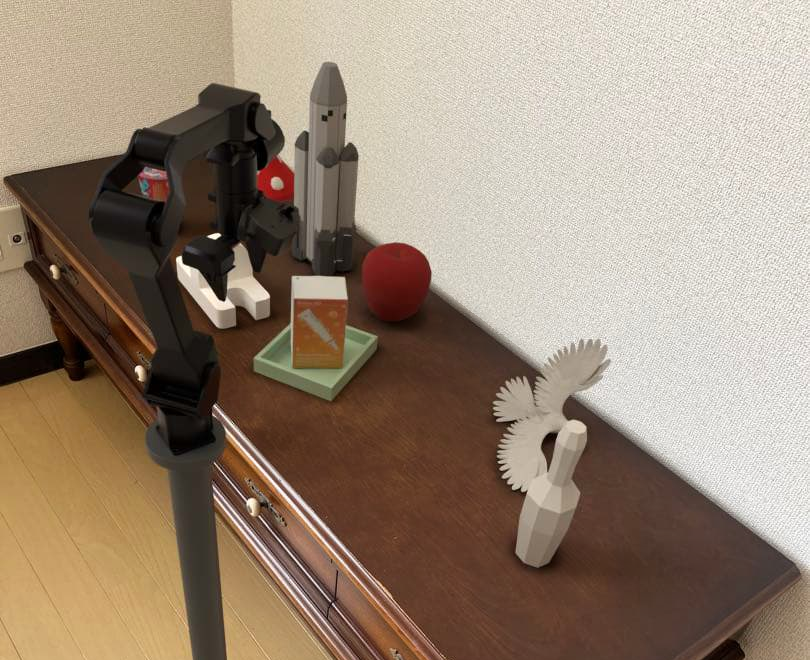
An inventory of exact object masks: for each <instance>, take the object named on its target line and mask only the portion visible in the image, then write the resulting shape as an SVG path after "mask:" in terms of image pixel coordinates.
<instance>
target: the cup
mask: <svg viewBox="0 0 810 660" xmlns="http://www.w3.org/2000/svg"><path fill="white" fill-rule="evenodd" d="M182 176H183V175H182ZM182 176H181V182H183V181H182V178H183V177H182ZM137 178H138V183H139V186H140V190H141V194H142V195H141V196H143V197H147V198H151V199H155V200H160V201H164V202H166V200H167V197H168V194H169V191H170V189H169V185H168V180H167V175H166V172H165V171H160V170H156V169H152V168H148V167H145V168H144V170H143V171H142V172H141V173H140V174H139V175H138V176H137ZM178 231H180V228H179V229H178Z"/></svg>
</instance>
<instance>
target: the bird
mask: <svg viewBox="0 0 810 660" xmlns="http://www.w3.org/2000/svg"><path fill="white" fill-rule="evenodd" d="M601 346H602V347H601ZM569 347H570V348H569V350H568V347H567V346H566V345H564V346H563V351H562V349H560V348H557V350H556V351H557V354H556V353H553V355H552V356H553V359H552V358H551V357H547V361H548V363H549V364H548V363H547V362H543V367H544V368H545V369H542V368H541V369H539V371H540V373H541V374H542V375H543V377H544V378H542V377H540V376H535V379H536V380H537V381H535V382H534V384H535V387H534V388H535V389H534V390H533V391H532V388H531V386H530V383H529V381H528V378H527V377H526V375H523V379H521V378H520V377H519V376H516V377H515V379H516V380H515V379H514V378H510V381H508V380H506V381H505V386H506V387H507V389H508V390H507V389H506V388H505V387H503V386H500V388H499V389H500V391H501V392H497V393H495V395H496V397H497V398H499V399H501V400H494V401H493V402H492V404H493V405H495V406H493V407H492V410H494V411H497V412H494V413H493V416H495V417H499V418H497V419H496V421H495V422H499V423H502V422H510V421H514V423H511V424H510V426H511V427H506V429H507V431H508V432H510V433H511V434H508V433H503V434H502V435H503V437H504V438H502V439H499V442H500V443H503V444H498V445H497V447H498V448H500V449H501V450H497V453H498V454H497V455H496V458H498V459H499V461H497V463H498V464H501V465H502V466H500V467H499V471H501V472H502V471H505V473H503V474H502V476H501V479H508V480H507V481H506V483H507V485H512V487H511V490H512V491H516V490H518V489H520V492H522V493H524V492H527V491H528V489H529V486H530V483H531V481H532V479H534V478H537V477H539V476H541V475H543V474H546V473H548V464H547V463H548V462H547V458H546V457H545V454H544V453H543V451H542V444H543V441H544V439H545V438H546V436H547V435H548V434H558V433H559V432H560V430H561V429H562V428H563V427H564V425H565V424H566V423H567V422H568V421H569V420H568V419H567V418H566V416H565V415H564V413H563V407H564V404H565V402H566V401H567V399H568V398H569V397H570V396H571V395H572V394H574V393H577V392H583V391H586V390H588V389H590V388H593V386H595V385H597V384H598V383H599V382H600V381H601V380H603V378H604V375H603V374H602V373H604V372H605V371H606V370H607V368H608V367H609V366H610V364H611V363H612V359H611V358H607V359H606V360H605V358H606V355H607V352H608V350H609V349H608V345H607V344H604V345H602V342H601V339H600V338H597V339H596V340H595V341H594V343H593V339H592V338H589V339H588V340H587V342H586V344H585V340H584V338H580V339H579V342H578V345H577V349H576V345H575V343H574V342H573V341H572V342H571V343H570V346H569ZM604 360H605V361H604ZM522 380H523V381H522ZM533 393H535V394H533ZM505 438H506V439H505ZM503 464H504V465H503ZM506 470H507V471H506Z"/></svg>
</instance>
